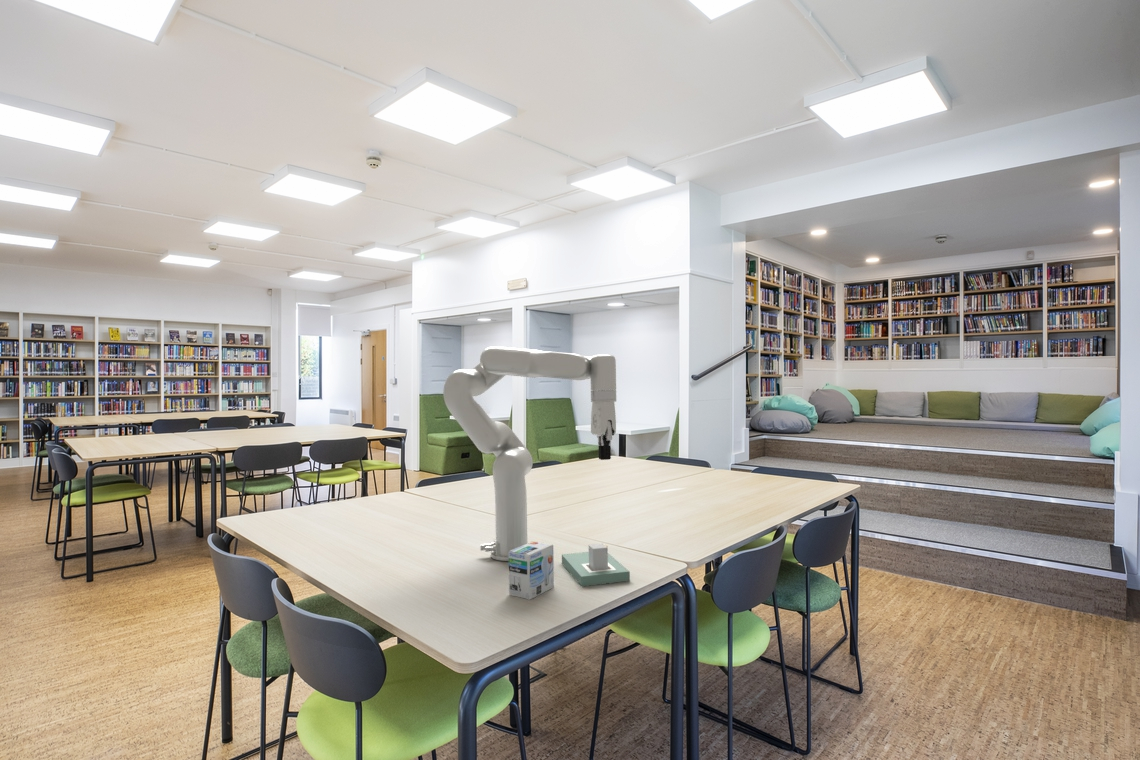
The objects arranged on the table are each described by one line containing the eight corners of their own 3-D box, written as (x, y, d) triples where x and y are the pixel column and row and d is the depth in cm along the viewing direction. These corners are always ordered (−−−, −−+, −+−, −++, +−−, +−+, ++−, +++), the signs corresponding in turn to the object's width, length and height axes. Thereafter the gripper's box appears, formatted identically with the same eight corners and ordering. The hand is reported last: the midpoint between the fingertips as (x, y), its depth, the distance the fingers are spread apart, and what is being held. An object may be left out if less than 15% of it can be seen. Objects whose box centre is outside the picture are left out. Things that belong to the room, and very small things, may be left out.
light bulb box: (530, 600, 133) (529, 554, 133) (507, 595, 136) (507, 550, 136) (555, 586, 142) (554, 543, 142) (533, 582, 145) (532, 540, 145)
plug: (593, 579, 146) (593, 548, 146) (589, 574, 150) (588, 544, 150) (609, 577, 147) (608, 547, 148) (604, 573, 151) (604, 543, 151)
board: (581, 586, 141) (581, 576, 141) (561, 563, 160) (561, 554, 161) (629, 581, 145) (629, 571, 145) (604, 558, 164) (604, 550, 164)
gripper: (584, 396, 171) (585, 457, 171) (599, 397, 157) (600, 463, 156) (607, 396, 173) (608, 455, 173) (624, 396, 159) (625, 461, 158)
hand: (604, 459), depth 164 cm, fingers closed
